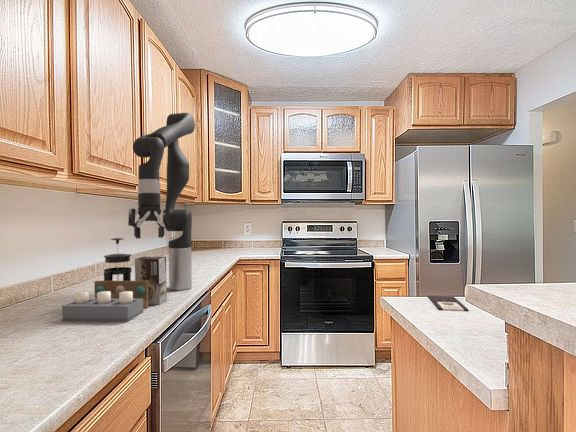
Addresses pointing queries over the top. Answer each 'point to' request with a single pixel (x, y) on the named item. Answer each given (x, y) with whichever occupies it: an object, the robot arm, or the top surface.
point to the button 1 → (81, 297)
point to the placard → (124, 289)
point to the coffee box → (153, 277)
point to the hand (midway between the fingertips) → (149, 238)
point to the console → (102, 311)
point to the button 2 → (104, 297)
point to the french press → (118, 270)
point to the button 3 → (126, 297)
